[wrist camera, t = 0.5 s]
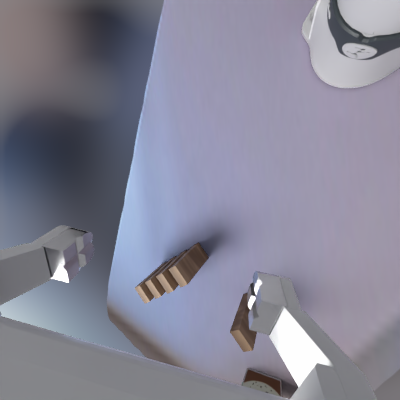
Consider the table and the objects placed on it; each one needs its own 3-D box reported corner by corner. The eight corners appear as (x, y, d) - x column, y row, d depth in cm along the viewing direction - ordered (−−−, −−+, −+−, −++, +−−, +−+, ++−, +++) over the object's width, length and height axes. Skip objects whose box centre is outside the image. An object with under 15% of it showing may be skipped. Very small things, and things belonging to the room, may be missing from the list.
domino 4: (198, 242, 54) (175, 265, 44) (208, 257, 54) (187, 284, 43) (192, 245, 55) (168, 269, 45) (202, 260, 55) (180, 287, 44)
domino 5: (250, 291, 50) (238, 329, 40) (261, 307, 50) (252, 350, 40) (243, 294, 52) (230, 331, 41) (254, 310, 51) (243, 351, 41)
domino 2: (175, 255, 59) (150, 279, 49) (185, 269, 59) (161, 296, 48) (171, 258, 60) (144, 282, 50) (180, 272, 60) (155, 298, 49)
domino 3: (186, 249, 56) (161, 273, 46) (196, 263, 56) (173, 290, 46) (181, 252, 58) (156, 276, 47) (190, 266, 57) (167, 293, 47)
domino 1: (166, 261, 61) (139, 285, 51) (174, 274, 61) (149, 301, 51) (161, 264, 63) (134, 288, 52) (170, 277, 62) (144, 303, 52)
